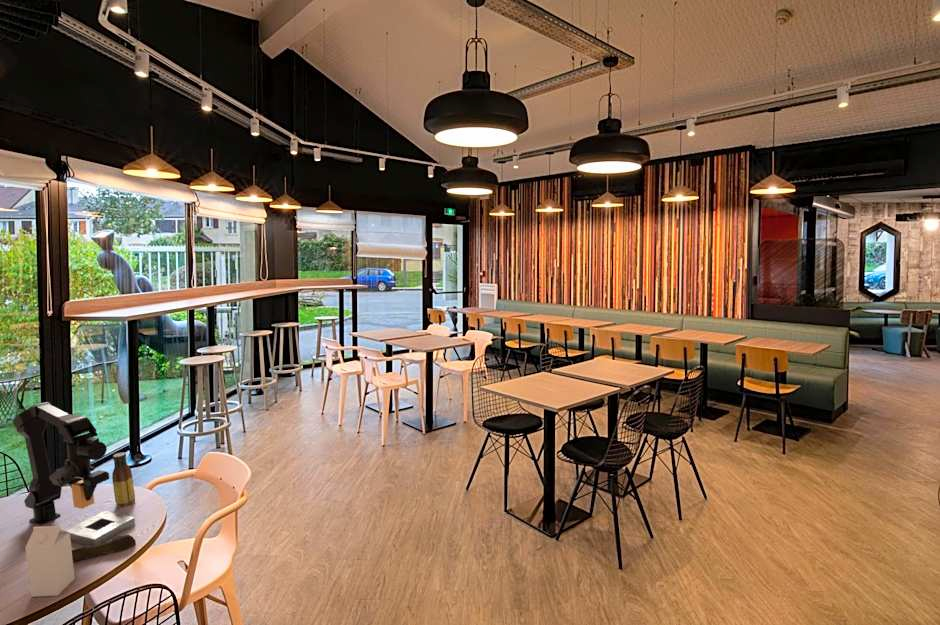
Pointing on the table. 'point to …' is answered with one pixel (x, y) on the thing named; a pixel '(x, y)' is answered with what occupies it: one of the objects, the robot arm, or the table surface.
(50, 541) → the milk carton
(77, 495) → the orange rectangular block
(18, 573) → the table surface
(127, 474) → the sauce bottle
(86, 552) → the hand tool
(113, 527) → the grey square hole board
